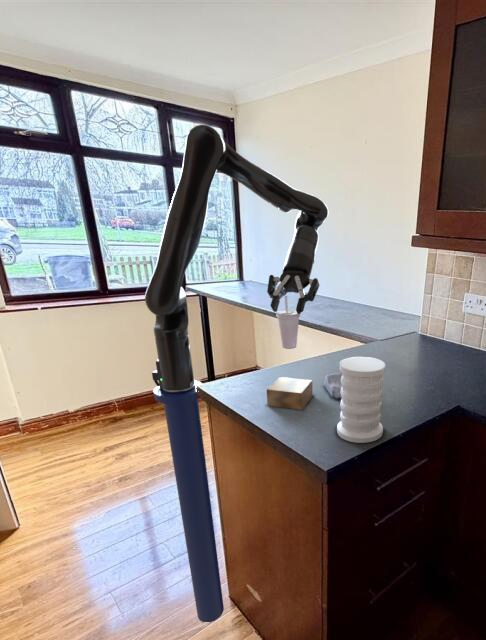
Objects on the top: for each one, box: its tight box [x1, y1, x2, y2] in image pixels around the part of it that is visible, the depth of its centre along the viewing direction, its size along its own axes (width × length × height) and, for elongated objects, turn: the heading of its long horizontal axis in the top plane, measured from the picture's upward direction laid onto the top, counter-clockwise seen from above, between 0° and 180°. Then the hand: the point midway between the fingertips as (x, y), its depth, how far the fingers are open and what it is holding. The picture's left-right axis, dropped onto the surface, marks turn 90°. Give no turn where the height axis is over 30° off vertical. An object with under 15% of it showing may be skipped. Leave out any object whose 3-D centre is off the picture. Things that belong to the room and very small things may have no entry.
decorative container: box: [336, 356, 387, 444], centre depth 99 cm, size 12×12×18 cm
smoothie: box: [275, 295, 301, 350], centre depth 109 cm, size 6×6×14 cm
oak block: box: [266, 376, 313, 411], centre depth 116 cm, size 10×10×5 cm
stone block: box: [323, 373, 342, 400], centre depth 125 cm, size 12×5×10 cm
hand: (286, 311), depth 106 cm, fingers closed on smoothie, 6 cm apart
